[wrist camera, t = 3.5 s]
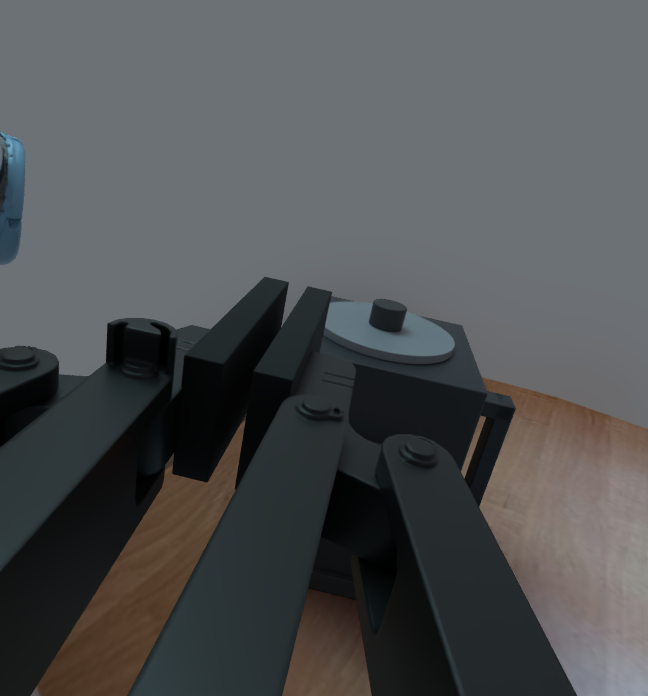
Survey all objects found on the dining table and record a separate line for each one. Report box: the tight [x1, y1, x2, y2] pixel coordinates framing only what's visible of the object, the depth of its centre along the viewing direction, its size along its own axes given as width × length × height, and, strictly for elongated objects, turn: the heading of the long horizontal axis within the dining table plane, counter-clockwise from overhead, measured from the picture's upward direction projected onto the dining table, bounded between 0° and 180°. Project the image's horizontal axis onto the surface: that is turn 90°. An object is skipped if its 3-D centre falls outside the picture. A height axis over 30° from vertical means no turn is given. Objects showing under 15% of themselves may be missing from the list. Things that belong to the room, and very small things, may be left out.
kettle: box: [308, 296, 516, 600], centre depth 40 cm, size 20×15×20 cm
